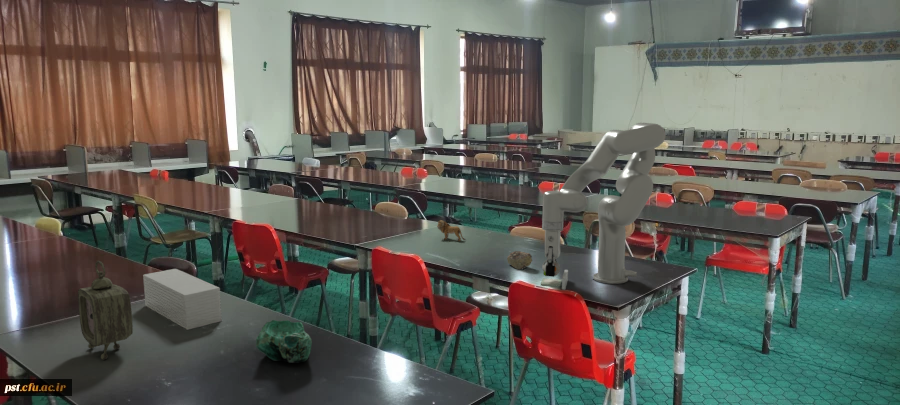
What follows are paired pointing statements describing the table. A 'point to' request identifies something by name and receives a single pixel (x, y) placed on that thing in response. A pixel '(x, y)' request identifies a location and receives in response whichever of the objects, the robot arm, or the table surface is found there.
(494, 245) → the table surface
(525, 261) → the rock
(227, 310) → the table surface
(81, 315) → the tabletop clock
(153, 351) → the table surface
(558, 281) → the mat
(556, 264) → the roller toy
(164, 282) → the stack of papers
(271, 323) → the mineral
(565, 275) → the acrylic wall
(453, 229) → the lion figurine
